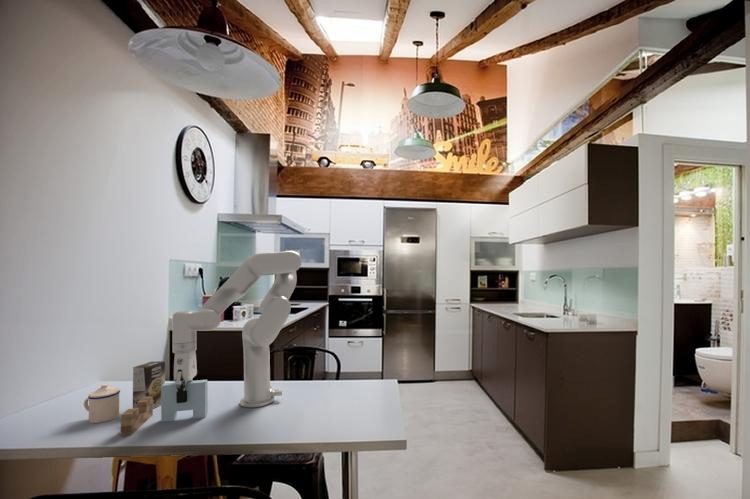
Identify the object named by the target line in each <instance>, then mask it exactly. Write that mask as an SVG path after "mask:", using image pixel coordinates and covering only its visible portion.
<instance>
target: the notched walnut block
mask: <svg viewBox="0 0 750 499" xmlns="http://www.w3.org/2000/svg"><path fill="white" fill-rule="evenodd" d="M153 409H154V408H153V396H152V397H143V398H142V399H141V400H139V401H138V402H137V408H133V407H132V408H127V409H126V410H125V411H124V412H122V413H121V414H120V437H125V436H124V435H127V436H132V435H133V434H135V433H136V431H137V430H138V429H140V427H142V426H143V425H144V424H145V423H146V422H147V421H148V420H149V419H150V418H152V416H153V415H154V414H153V413H154V412H153Z"/></svg>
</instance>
